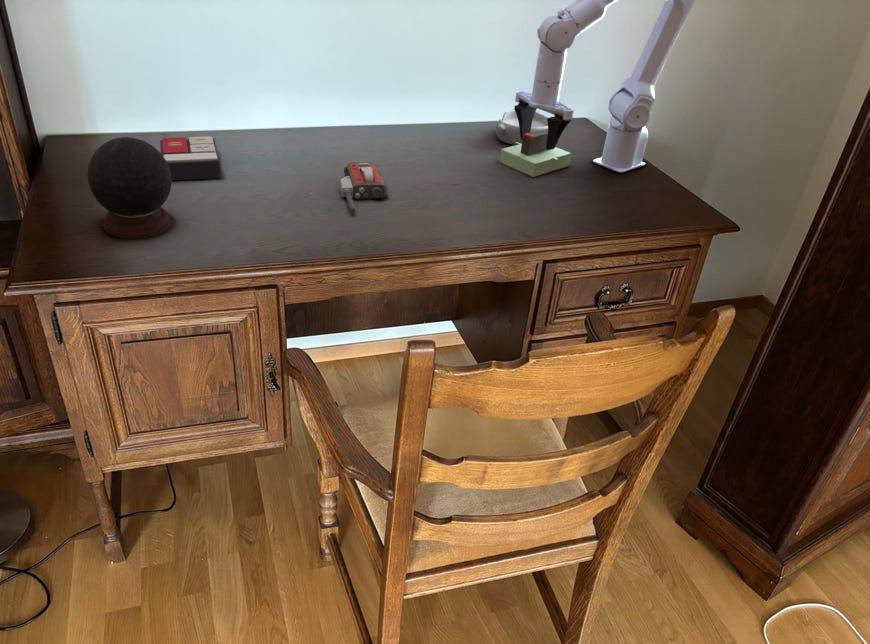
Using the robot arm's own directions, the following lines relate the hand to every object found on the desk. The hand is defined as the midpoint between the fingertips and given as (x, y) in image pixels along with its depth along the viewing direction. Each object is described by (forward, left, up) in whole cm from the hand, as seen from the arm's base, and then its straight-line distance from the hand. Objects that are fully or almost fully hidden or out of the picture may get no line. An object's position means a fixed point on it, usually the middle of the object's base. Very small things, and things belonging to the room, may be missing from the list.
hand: (537, 143), depth 163 cm
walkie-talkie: (+42, -7, -5) cm, 43 cm away
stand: (0, 0, -5) cm, 5 cm away
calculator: (+63, -37, -5) cm, 74 cm away
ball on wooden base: (+83, -18, -5) cm, 86 cm away
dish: (-11, -13, -5) cm, 17 cm away
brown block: (0, 0, -2) cm, 2 cm away
